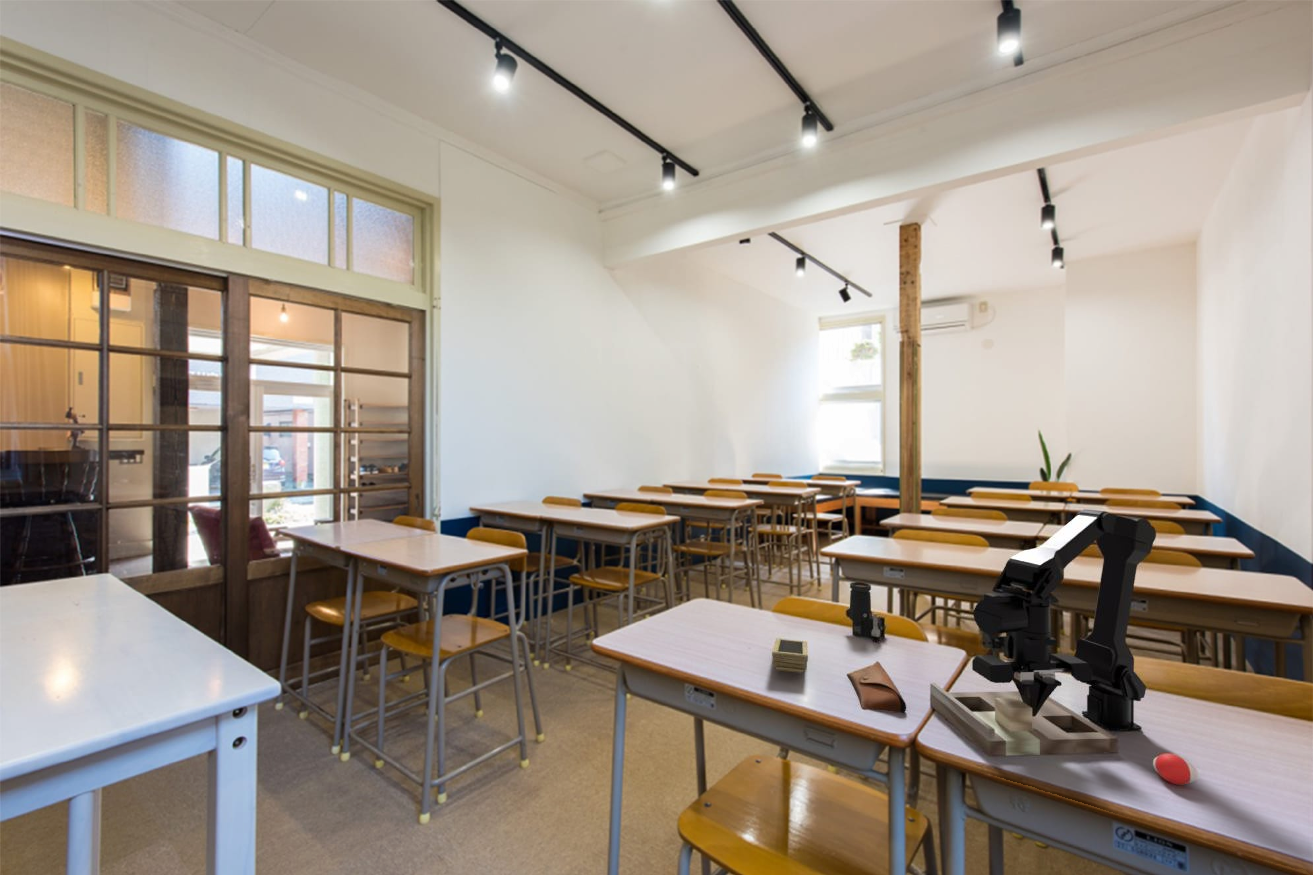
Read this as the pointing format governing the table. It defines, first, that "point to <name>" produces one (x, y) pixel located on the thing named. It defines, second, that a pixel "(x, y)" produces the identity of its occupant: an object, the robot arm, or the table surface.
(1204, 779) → the table surface
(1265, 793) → the table surface
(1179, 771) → the molecule
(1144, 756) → the table surface
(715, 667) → the table surface
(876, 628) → the scope
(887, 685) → the sunglasses case
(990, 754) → the trap box
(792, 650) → the box
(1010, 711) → the block
